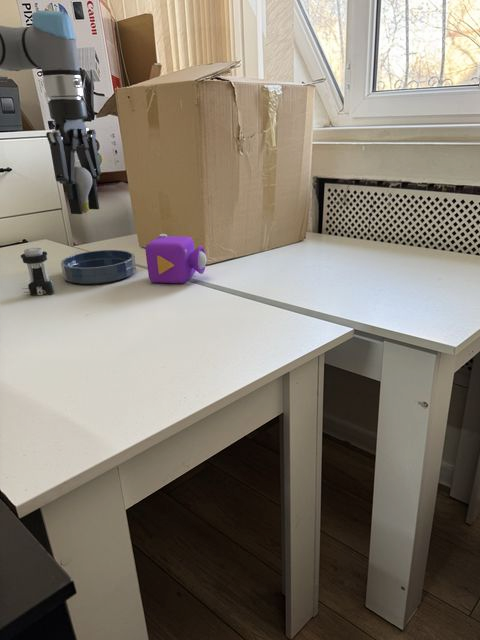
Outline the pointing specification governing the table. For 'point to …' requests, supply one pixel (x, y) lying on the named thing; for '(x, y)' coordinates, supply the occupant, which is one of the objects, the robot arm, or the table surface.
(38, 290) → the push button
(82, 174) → the light bulb
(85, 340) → the table surface
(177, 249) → the toy camera
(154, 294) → the table surface
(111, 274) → the bowl
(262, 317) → the table surface
